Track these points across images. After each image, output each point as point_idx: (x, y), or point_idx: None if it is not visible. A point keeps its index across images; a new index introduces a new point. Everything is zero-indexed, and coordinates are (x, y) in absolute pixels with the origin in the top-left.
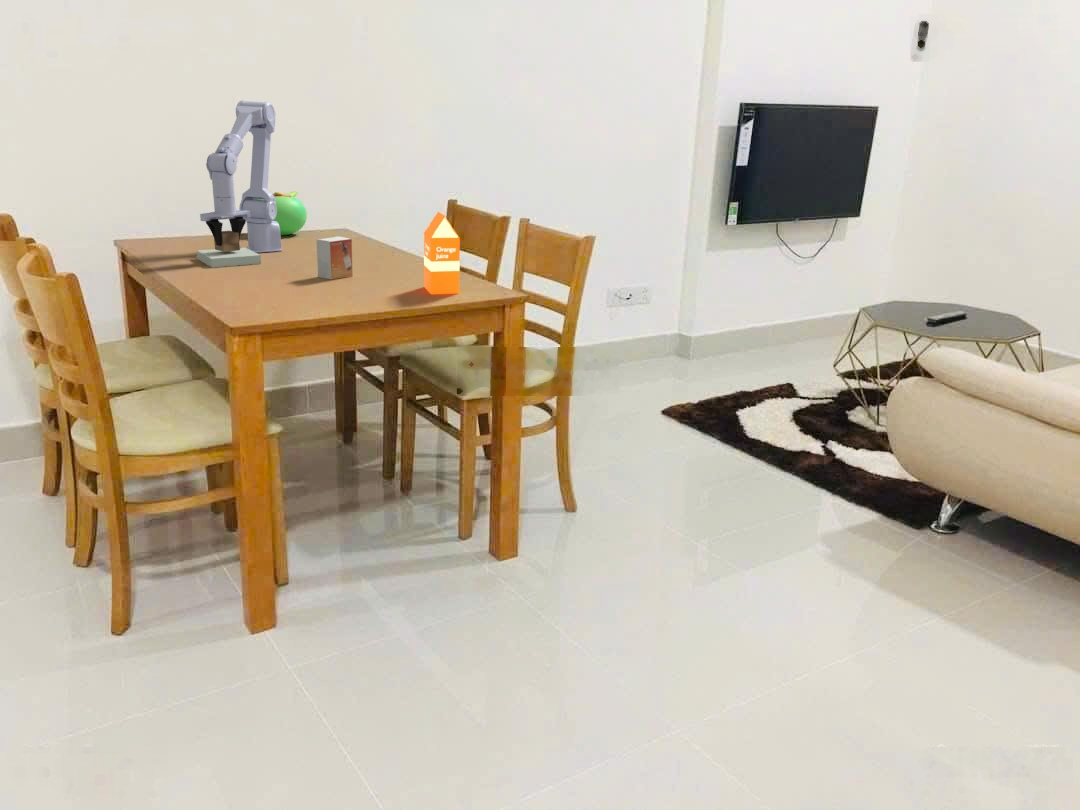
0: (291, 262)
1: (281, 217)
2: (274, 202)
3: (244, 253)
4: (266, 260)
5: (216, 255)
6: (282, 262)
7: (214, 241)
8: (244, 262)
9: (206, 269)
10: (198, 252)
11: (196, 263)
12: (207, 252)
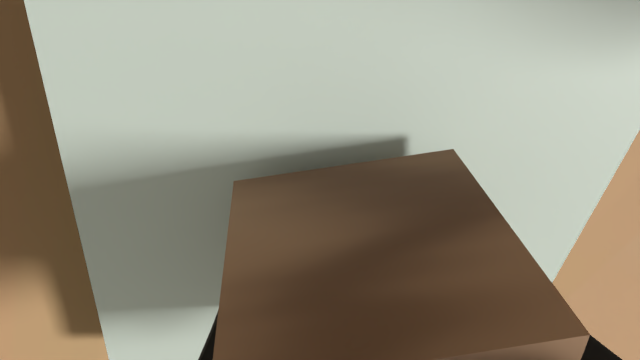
0: (629, 341)
1: None
2: None
3: None
4: (579, 251)
5: (193, 303)
6: (595, 327)
7: (227, 254)
8: None
9: (86, 353)
10: (34, 9)
11: (28, 151)
12: (143, 138)
